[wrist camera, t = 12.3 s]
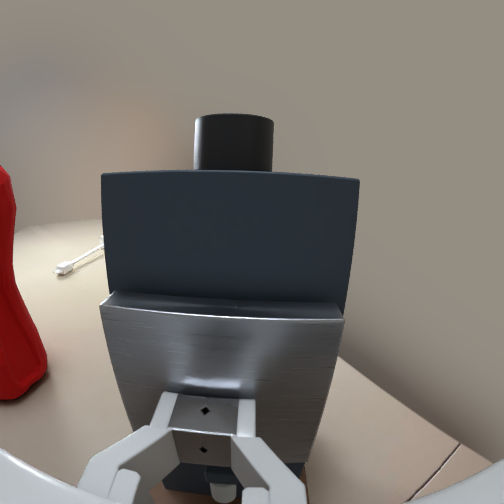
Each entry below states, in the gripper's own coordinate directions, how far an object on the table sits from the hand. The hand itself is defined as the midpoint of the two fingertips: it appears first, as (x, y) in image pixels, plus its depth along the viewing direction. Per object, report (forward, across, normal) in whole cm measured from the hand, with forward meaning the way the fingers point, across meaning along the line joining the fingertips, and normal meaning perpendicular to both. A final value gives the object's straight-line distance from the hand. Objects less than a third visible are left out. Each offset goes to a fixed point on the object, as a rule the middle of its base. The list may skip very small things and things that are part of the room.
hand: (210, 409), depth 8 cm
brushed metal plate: (+1, 0, -4) cm, 4 cm away
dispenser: (+3, 0, -12) cm, 12 cm away
